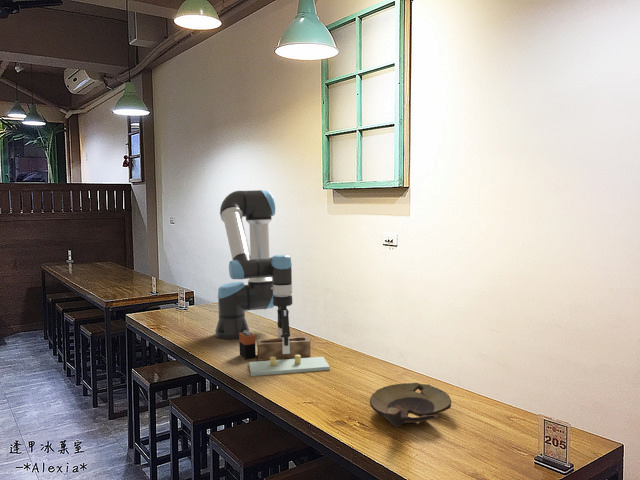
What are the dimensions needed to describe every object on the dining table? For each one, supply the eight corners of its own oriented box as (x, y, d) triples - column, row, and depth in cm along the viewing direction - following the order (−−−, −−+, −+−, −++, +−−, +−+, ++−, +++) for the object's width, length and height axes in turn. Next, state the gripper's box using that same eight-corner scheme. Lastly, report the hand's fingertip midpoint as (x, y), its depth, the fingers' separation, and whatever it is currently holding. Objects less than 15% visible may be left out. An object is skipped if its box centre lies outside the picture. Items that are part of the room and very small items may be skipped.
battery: (245, 359, 204) (244, 334, 203) (239, 355, 210) (238, 330, 209) (256, 357, 206) (255, 332, 205) (249, 353, 212) (249, 328, 211)
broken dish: (468, 414, 151) (468, 387, 151) (399, 448, 132) (399, 418, 131) (406, 392, 168) (406, 369, 167) (337, 420, 148) (336, 394, 148)
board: (251, 376, 186) (250, 364, 185) (249, 365, 197) (248, 354, 197) (329, 369, 191) (329, 358, 190) (323, 359, 202) (323, 348, 202)
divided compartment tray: (258, 359, 203) (258, 344, 203) (257, 354, 210) (257, 339, 210) (310, 356, 207) (310, 341, 207) (307, 350, 214) (307, 336, 213)
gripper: (269, 290, 218) (271, 341, 220) (276, 301, 194) (277, 358, 195) (288, 289, 220) (289, 340, 221) (296, 300, 195) (298, 357, 197)
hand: (284, 348), depth 208 cm, fingers open, 13 cm apart
